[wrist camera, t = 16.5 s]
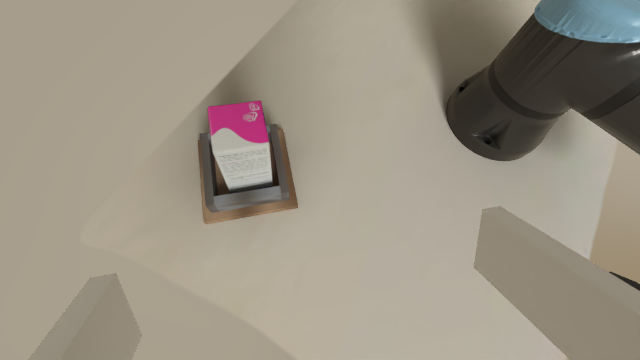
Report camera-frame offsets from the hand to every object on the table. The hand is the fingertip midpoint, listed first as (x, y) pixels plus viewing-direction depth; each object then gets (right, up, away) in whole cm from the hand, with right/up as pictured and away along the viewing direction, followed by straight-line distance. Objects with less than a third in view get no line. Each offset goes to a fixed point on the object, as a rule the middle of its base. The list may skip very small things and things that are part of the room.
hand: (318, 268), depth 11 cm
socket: (-10, +4, +31) cm, 33 cm away
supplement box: (-10, +4, +30) cm, 32 cm away
